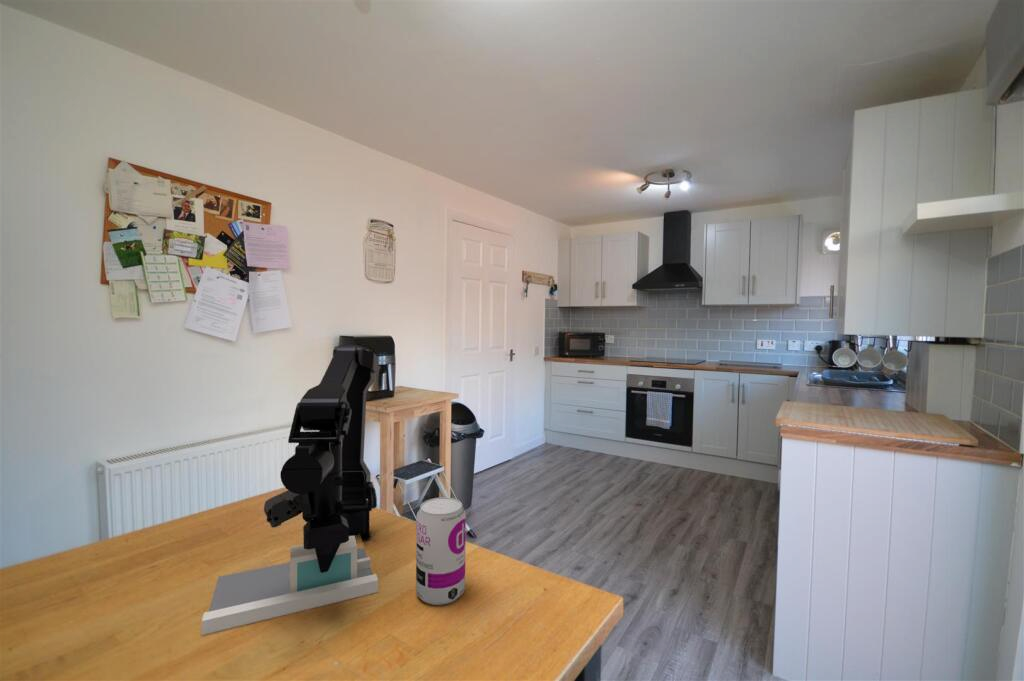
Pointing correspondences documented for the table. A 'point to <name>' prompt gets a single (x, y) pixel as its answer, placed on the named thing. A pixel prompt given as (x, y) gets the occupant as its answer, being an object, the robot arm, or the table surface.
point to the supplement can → (440, 550)
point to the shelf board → (277, 595)
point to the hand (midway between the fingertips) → (323, 564)
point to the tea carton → (308, 570)
